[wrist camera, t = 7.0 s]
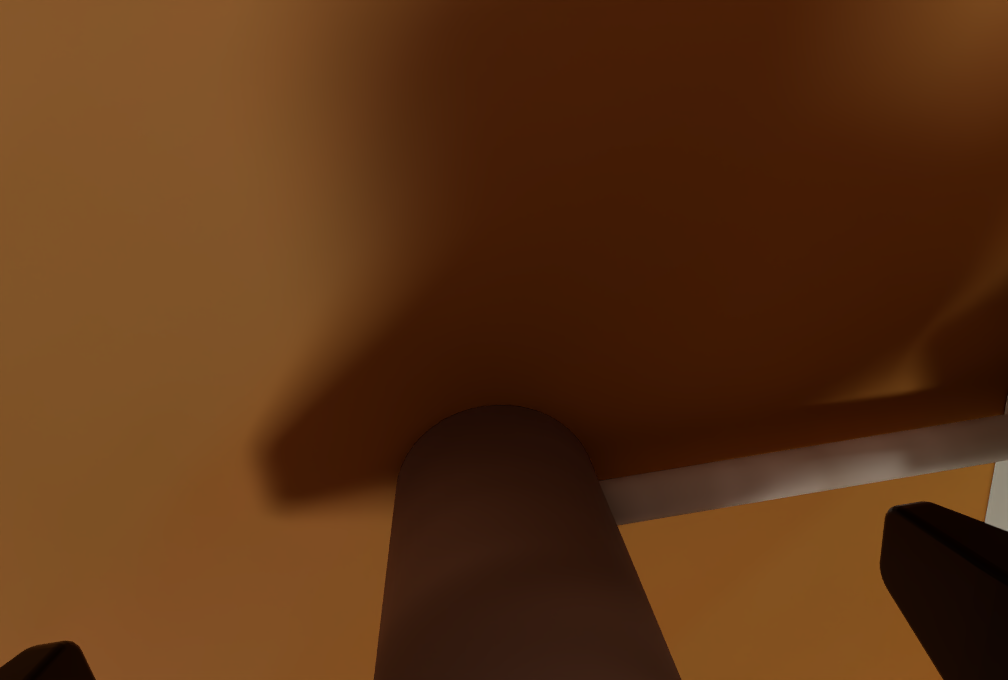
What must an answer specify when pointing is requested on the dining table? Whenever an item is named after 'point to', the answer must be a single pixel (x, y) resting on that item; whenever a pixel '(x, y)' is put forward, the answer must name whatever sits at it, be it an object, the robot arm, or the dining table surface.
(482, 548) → the block with cord
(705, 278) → the dining table surface
